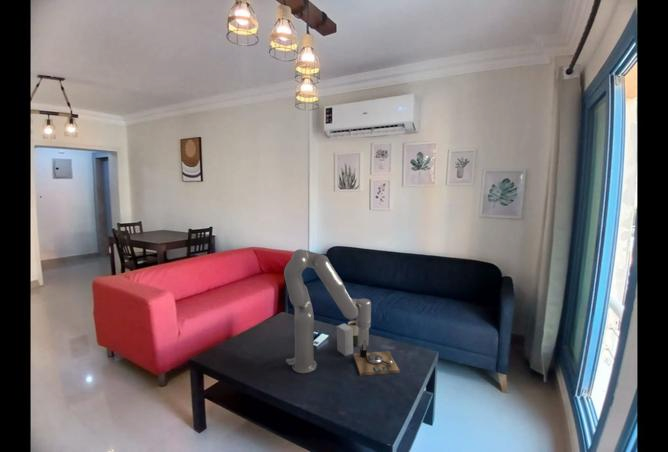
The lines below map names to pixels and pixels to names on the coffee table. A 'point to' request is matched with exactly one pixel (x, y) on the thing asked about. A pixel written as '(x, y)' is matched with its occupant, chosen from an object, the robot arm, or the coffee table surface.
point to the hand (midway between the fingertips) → (363, 356)
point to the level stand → (375, 369)
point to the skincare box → (345, 339)
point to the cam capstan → (377, 359)
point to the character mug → (354, 332)
